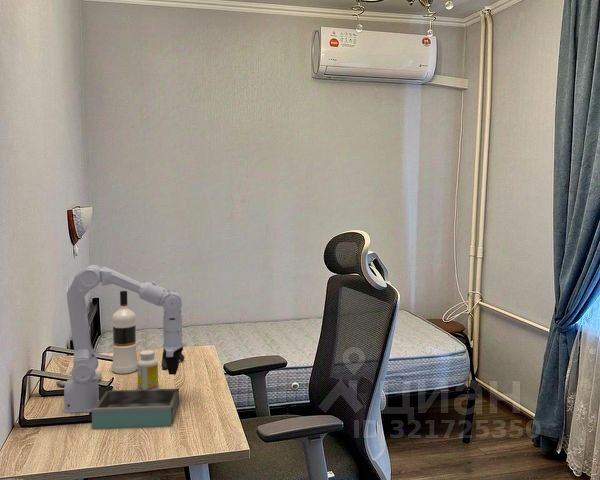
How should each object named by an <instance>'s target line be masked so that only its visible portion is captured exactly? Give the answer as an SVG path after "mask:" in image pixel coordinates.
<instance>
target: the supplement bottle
mask: <svg viewBox="0 0 600 480" xmlns="http://www.w3.org/2000/svg"><path fill="white" fill-rule="evenodd" d="M139 357H140V359H138V360H137V370H136V372H137V390H149V389H159V362H158V359H157V358H155V351H154V350H151V349H149V350H142V351H140V353H139Z"/></svg>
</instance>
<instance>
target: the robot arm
mask: <svg viewBox="0 0 600 480" xmlns="http://www.w3.org/2000/svg"><path fill="white" fill-rule="evenodd" d="M100 283H101V287H103V286H107V285H115V286H118V287H120V288H122V289H125V290H129V291H131V292H134V293H137V294H138V296H139V299H140V300H143V301H145V302H147V303H150V304H152V305H154V306H157V307H161V308H162V309H163V317H162V318H163V319H162V326H163V330H162V331H163V333H162V335H163V344H162V347H163V349H165V352H163V351H162V357H163V358H164V359H165V361H166V364H167V368H168V369H167V372H168V375H170V376H172V375H177V373H178V372H177V371H178V370H179V364H180V355H181V353H182V354H183V351H184V348H185V347H186V346H187V343H186V342H183V336H182V335H183V315H182V306H183V300H182V296H181V294H180V293H178V291H176V290H171V288H165V287H162V286H160V285H158V284H157V282H155V281H154V280H152V281H146V282H143V283H142V282H140V281H138V280H136V279H133V278H132V277H129V276H127V275H125V274H123V273H121V272H118V271H117V270H115V269H112V268H109V267H107V266H102V265H100V264H98V263H91V264H88V265H87V266H86V267H84V268H83V269H81V270H80V271H79V272H78V273H77V274H76V275H75V276H74V278H73V280H72V282H71V284H70V285H69V288H68V290H67V292H66V301H67V307H68V315H69V316H68V317H69V323H70V329H71V330H70V331H71V337H72V344H73V345H72V346H73V359H72V361H73V366H72V369H71V372H72V377H73V379H71V380H67V381H66V384H65V386H64V388H63V395H64V396H63V397H64V398H63V399H64V401H63V402H64V410H63V413H65V414H66V413H67V414H68V413H70V414H71V413H92V408H95V406H96V405H97V403H98V402H99V401H100V396H99V395H100V394H99V389H100V388H99V380H98V375H97V374H96V372H95V371H97V369H98V367H99V360H98V358H97V356H96V354H95V350H94V348H93V346H92V341H91V334H90V326H89V318H88V312H87V303H86V295H87V294H89V292H90V291H91V290H93V289H95V288H96V287H98V286H99V284H100Z"/></svg>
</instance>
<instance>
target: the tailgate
mask: <svg viewBox="0 0 600 480" xmlns="http://www.w3.org/2000/svg"><path fill="white" fill-rule="evenodd" d="M91 427H92V428H91V429H92V430H93V429H94V430H95V429H96V430H97V429H98V430H99V429H123V428H124V429H125V428H127V429H130V428H157V427H161V428H162V427H163V428H164V427H172V424H171V406H142V407H109V408H92V412H91Z"/></svg>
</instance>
